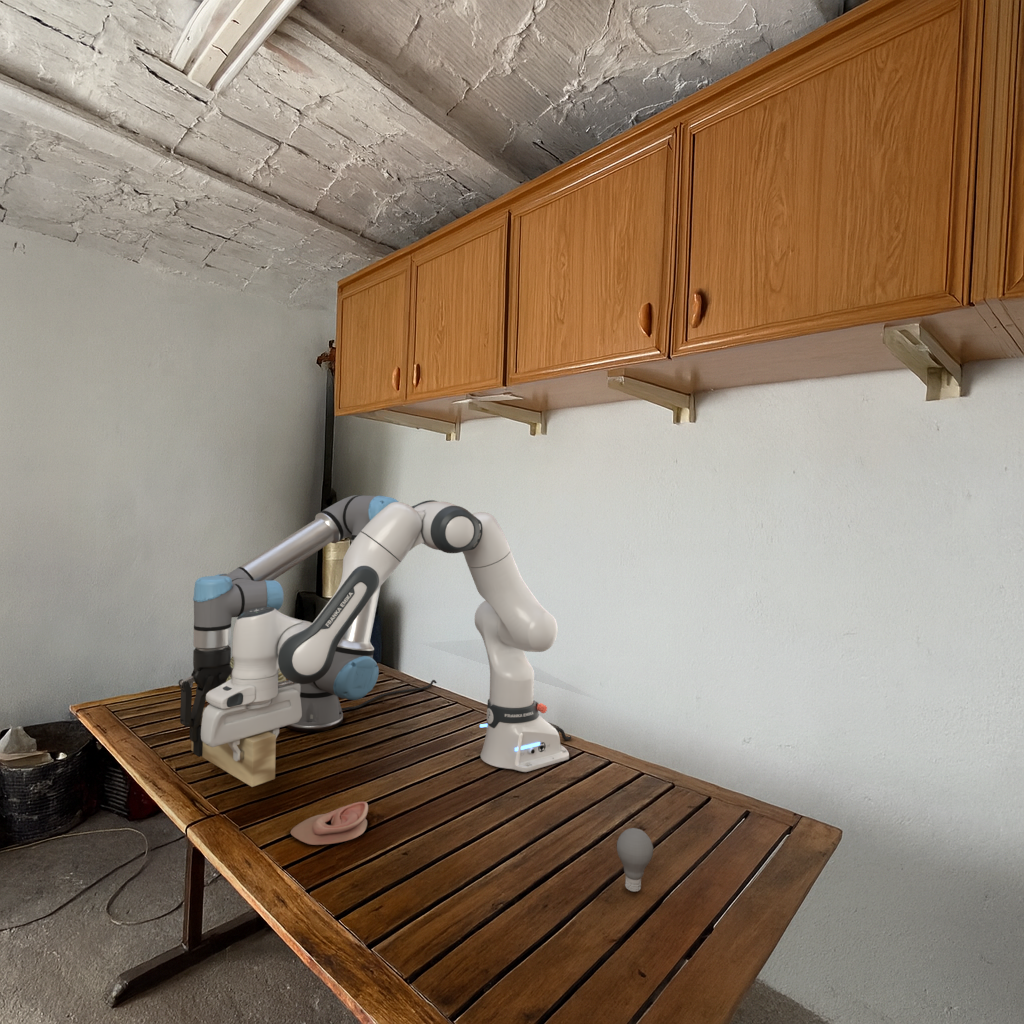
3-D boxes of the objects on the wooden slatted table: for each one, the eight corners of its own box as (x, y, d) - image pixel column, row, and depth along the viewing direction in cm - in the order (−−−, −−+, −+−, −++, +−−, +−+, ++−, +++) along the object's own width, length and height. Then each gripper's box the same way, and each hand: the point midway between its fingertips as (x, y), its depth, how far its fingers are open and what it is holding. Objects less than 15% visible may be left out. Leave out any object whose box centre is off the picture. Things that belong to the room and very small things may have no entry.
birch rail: (213, 744, 145) (214, 705, 145) (275, 778, 129) (276, 735, 129) (191, 750, 141) (191, 710, 141) (251, 787, 125) (252, 742, 125)
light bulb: (610, 878, 109) (613, 821, 108) (645, 878, 109) (647, 821, 109) (619, 901, 103) (622, 840, 103) (655, 900, 103) (658, 839, 103)
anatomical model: (282, 818, 116) (314, 791, 127) (281, 840, 116) (313, 810, 127) (349, 829, 113) (375, 800, 125) (348, 851, 113) (374, 820, 125)
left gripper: (242, 637, 149) (241, 734, 150) (161, 651, 135) (160, 758, 136) (259, 642, 144) (258, 743, 145) (177, 657, 130) (176, 768, 131)
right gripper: (292, 674, 139) (290, 736, 139) (197, 695, 123) (196, 765, 123) (308, 680, 135) (307, 744, 135) (213, 703, 119) (211, 775, 119)
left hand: (211, 750), depth 141 cm, fingers closed on birch rail, 5 cm apart
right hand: (253, 754), depth 129 cm, fingers closed on birch rail, 5 cm apart
